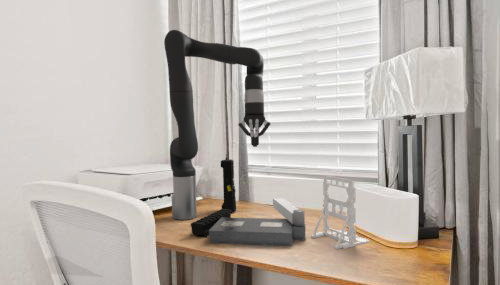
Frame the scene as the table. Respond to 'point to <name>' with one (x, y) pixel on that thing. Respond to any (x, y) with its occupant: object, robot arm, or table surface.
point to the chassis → (255, 231)
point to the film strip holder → (340, 215)
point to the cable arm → (289, 211)
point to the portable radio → (228, 185)
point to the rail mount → (209, 222)
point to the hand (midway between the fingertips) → (255, 146)
